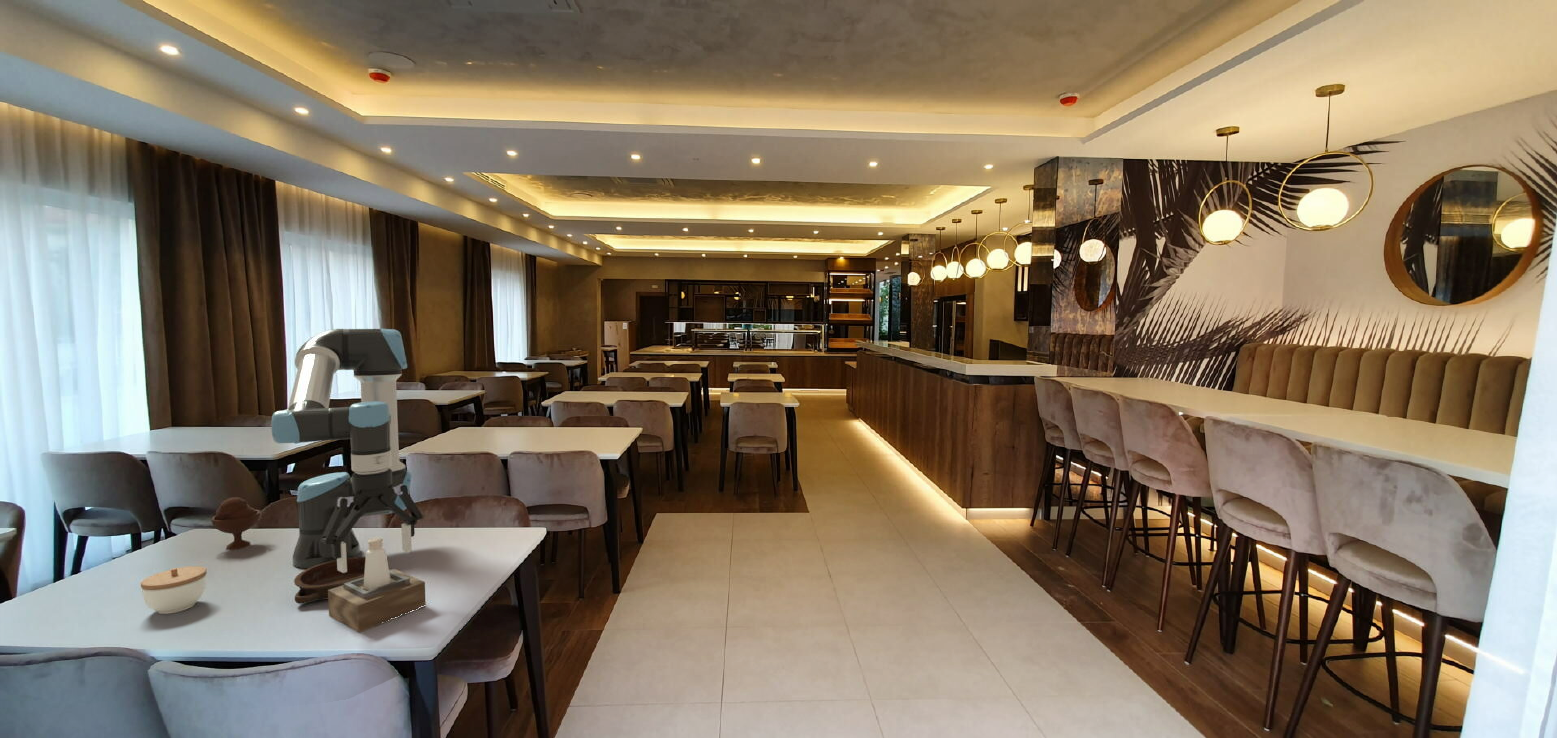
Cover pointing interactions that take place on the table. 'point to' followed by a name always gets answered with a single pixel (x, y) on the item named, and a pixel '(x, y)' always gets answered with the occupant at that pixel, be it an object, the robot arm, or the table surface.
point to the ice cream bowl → (235, 520)
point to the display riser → (375, 601)
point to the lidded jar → (174, 589)
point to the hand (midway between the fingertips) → (376, 560)
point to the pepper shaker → (376, 565)
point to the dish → (326, 579)
